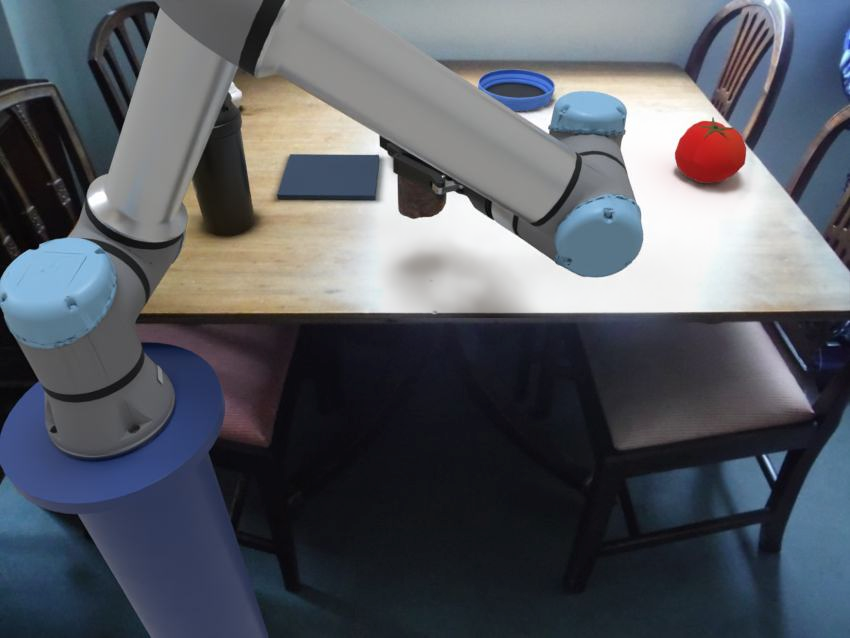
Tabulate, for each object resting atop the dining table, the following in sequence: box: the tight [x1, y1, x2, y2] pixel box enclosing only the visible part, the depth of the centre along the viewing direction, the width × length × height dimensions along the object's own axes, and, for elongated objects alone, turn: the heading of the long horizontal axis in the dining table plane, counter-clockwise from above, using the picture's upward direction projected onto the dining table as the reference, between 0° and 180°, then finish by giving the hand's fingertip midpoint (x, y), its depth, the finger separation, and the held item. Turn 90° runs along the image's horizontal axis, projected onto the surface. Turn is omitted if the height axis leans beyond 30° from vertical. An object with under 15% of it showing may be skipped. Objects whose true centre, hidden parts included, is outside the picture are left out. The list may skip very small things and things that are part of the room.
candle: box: [396, 174, 447, 220], centre depth 94 cm, size 8×7×20 cm
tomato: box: [674, 116, 747, 184], centre depth 127 cm, size 13×12×11 cm
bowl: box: [477, 68, 556, 112], centre depth 157 cm, size 18×18×4 cm
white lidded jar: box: [228, 81, 243, 110], centre depth 149 cm, size 6×6×7 cm
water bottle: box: [191, 92, 256, 237], centre depth 108 cm, size 10×10×23 cm
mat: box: [276, 153, 380, 201], centre depth 127 cm, size 18×16×1 cm
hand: (403, 130), depth 96 cm, fingers closed on candle, 7 cm apart
